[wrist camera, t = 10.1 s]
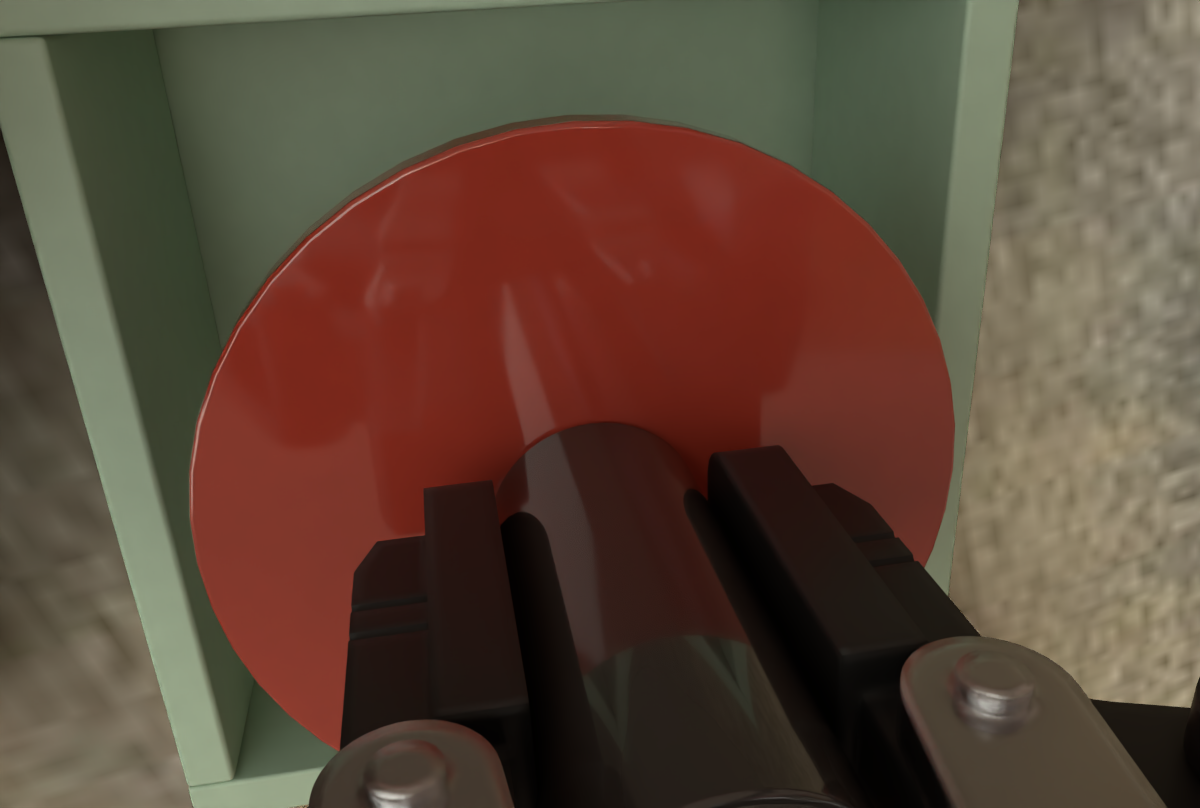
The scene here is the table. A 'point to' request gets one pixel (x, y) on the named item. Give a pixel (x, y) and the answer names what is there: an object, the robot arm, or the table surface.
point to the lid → (574, 436)
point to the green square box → (378, 143)
